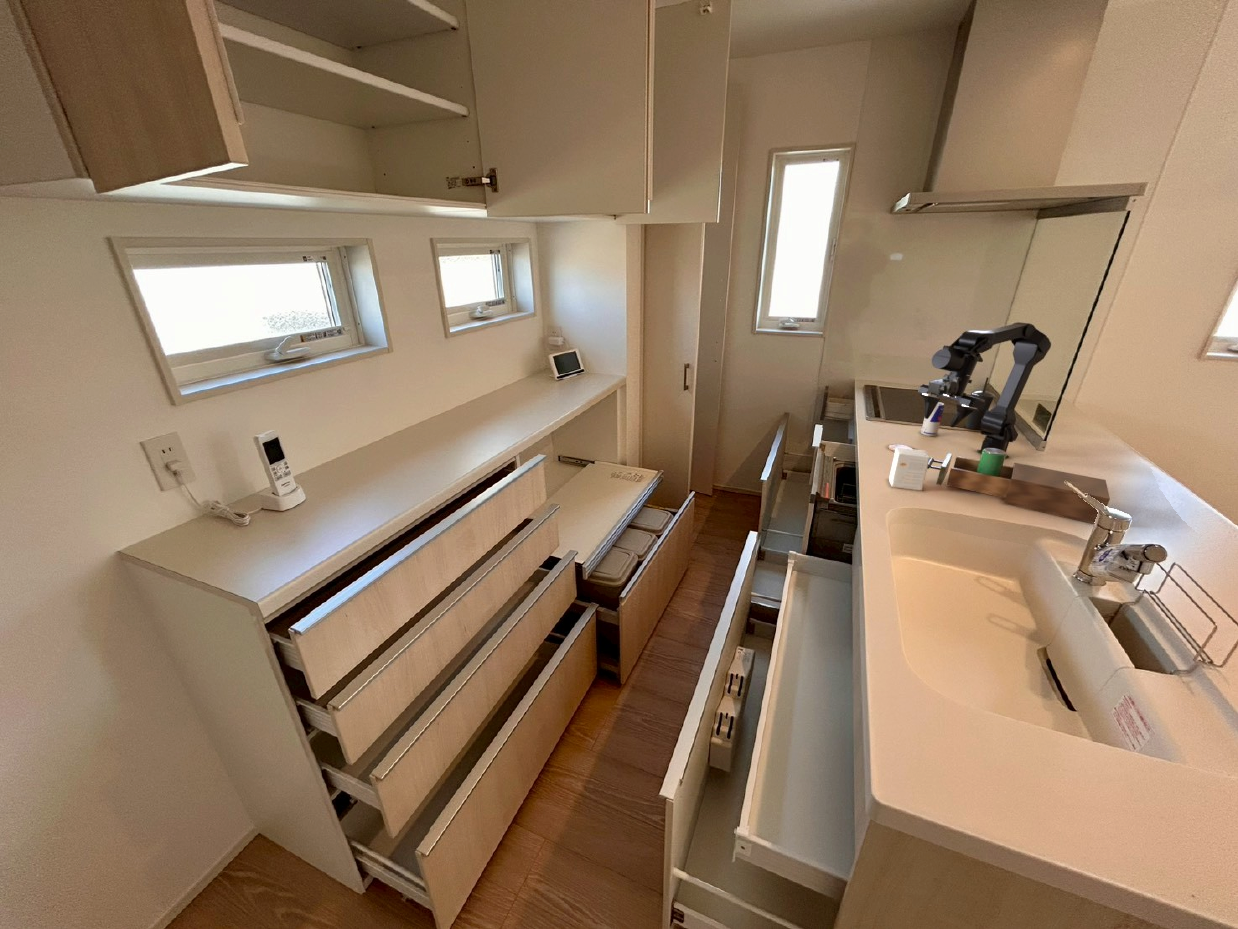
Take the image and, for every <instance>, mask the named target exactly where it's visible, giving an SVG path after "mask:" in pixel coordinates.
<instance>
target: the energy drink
mask: <svg viewBox="0 0 1238 929" xmlns="http://www.w3.org/2000/svg"><path fill="white" fill-rule="evenodd" d="M944 410H945V403H943V402H940V401H939V402H938V404H937V405H936V407H935V409H934V410H933V412H932V414H931V415H930V417H929V418H928V419H925V416H924V418H923V423H922V426H921V430H920V434H922V435H924V436H927V437H936V436H938V433H939V429H940V425H941V422H942V419H943V414H944Z"/></svg>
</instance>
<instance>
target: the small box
mask: <svg viewBox="0 0 1238 929" xmlns="http://www.w3.org/2000/svg"><path fill="white" fill-rule="evenodd" d="M930 458H931V457H930V455H929V453H928V452H927V451H926V450H925V449H913V448H912V449H904V448H896V449H895V451H894V454H893V459H892V463H891V468H890V473H889V477H888V481H889V484H890V486H891V488H897V489H906V490H915V491H923V488H924V484H925V479H926V474H927V472H928V469H927V467H928V463H929V459H930Z"/></svg>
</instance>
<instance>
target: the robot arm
mask: <svg viewBox="0 0 1238 929" xmlns="http://www.w3.org/2000/svg"><path fill="white" fill-rule="evenodd" d="M1009 341H1010V342H1011V344H1012V345H1013V346H1014V347H1013V350H1012V357H1013V361H1014V362H1013V363H1014V364H1013V366H1012V367H1011V371H1010V372H1009V374H1008V377H1007V380H1006V381H1005V384H1004V386H1003V388H1002V391H1001V394H1000V396H999V398H998V400H997V403H996V405H995V406H994V407H992V408H990V409H989V410H987V411H986V412H985V415H984V417H983V419H982V420H981V421H982V422H981V429H980V434H981V435H982V436H985V437H984V440H983V441H982V444H981V446H980V449H977V452H978V453H980V454H982V451H983V449H985V448H996V449H1000V450H1003V451H1005V453H1006V457H1005V459H1009V458H1010V456H1009V455H1008V454H1007V451H1008V447H1009V445H1010V443H1013V442H1015V441H1016V440H1017V438H1018V437H1019V433H1018V431H1017V429H1016V427H1015V425H1016V422H1017V417H1016V412H1015V409H1016V407H1017V405H1018V402H1019V400H1020V398H1021V395H1022V394H1023V391H1024V389H1025V387H1026V385H1027V382H1028V380H1029V378H1030V376H1031V374H1032V371H1033V369H1034V368H1035V366H1036V365H1037V364H1039V363H1040V362H1041V361H1043V360H1044V359H1045V358H1046V356H1047V354H1048V352H1049V351H1050V349H1051V347H1052V342H1051V340H1050V338H1049V337H1048V336H1047V335H1046V334H1045V333H1043V332H1042V331H1041V330H1039V329H1037V328H1036V327H1035V325H1034V324H1032V323H1029V322H1019V321H1017V322H1014V323H1012V324H1008V325H1004V326H1000V327H996V328H993V329H989V330H966V331H963V332H962V333H961V335H960V336H959V337H958V338H957V339H955V340H954V341H953V342H952V343H951V344H950V345H945V344H944V345H943V347H942V348H941V349H939V350H937V351H936V352H935V353H934V354H933V355H932V358H931V366H933V368H936V369H939V370H942V371H947V372H948V373H945V374H944V375H943V377H942V378H940V379H935V380H930V381H928V384H925V383H923V384H922V385H921V384H920V386H919V387H918V390H917V393H920V394H919V395H920V396H921V397H922V399H923V401H924V417H925V419H928V418H929V417H930V415H931V414H932V412H933V410H934V409H935V407H936V405H937V404H938V402H940V401H941V398H944V399H945V398H946V399H947V400H948V399H949V400H952V401H956V402H959V404H956V411H955V414H954V416H953V418H952V420H951V423H950V428H955V427H956V426H958V424H960V423H961V422H962V421H963V420H965V418H968V415H969V414H971V413H972V412H973V411H978V409H983V408H984V406H985V401H984V400H983V399H979V398H976V397H971V395H967V393H966V392H965V391H966V389H967V386H968V385H969V384H972V382H973V379H971V377H972V375H973V373H974V370H975V368H976V366H977V364H978V363H983V362H984V360H983V357H982V355H981V354H983V353H985V352H987V351H990V350H991V349H992V348H993V346H995V345H998V344H1001V343H1005V342H1009ZM939 397H941V398H939ZM977 408H978V409H977Z"/></svg>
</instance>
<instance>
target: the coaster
mask: <svg viewBox="0 0 1238 929" xmlns="http://www.w3.org/2000/svg"><path fill="white" fill-rule="evenodd" d="M896 448H904V449H913V448H912V447H910V446H908V445H904V444H894V443H893V444H890V445H888V450H890V451H893V452H895V449H896Z"/></svg>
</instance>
